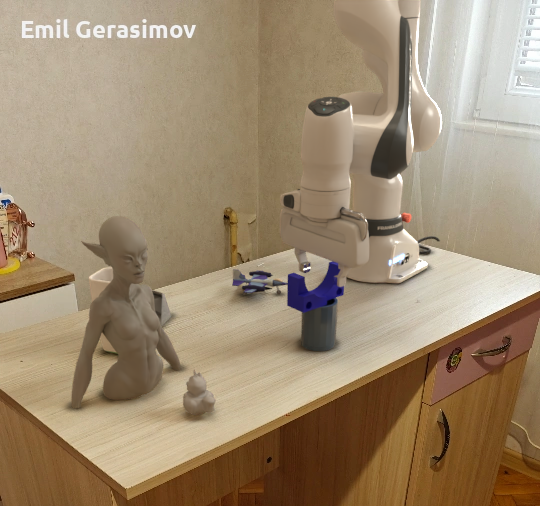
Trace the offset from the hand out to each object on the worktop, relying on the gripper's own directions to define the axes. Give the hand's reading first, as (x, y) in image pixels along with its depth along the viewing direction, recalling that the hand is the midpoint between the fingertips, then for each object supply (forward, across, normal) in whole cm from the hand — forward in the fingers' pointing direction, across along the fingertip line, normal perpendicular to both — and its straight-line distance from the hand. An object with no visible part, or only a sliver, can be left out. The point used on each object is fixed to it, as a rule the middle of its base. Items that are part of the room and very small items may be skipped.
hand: (321, 278), depth 135 cm
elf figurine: (+13, +6, +38) cm, 41 cm away
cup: (+13, +23, +31) cm, 41 cm away
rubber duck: (+13, -7, +34) cm, 37 cm away
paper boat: (+13, +33, +18) cm, 40 cm away
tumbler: (+13, 0, 0) cm, 13 cm away
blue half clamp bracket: (+4, 0, +1) cm, 5 cm away
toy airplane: (+14, +28, -9) cm, 32 cm away
